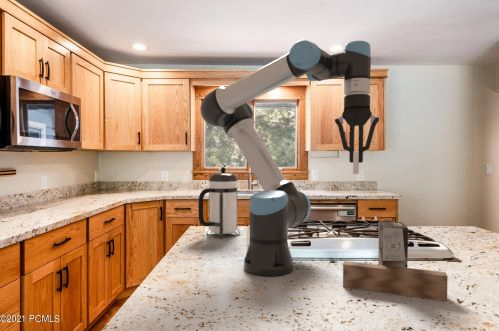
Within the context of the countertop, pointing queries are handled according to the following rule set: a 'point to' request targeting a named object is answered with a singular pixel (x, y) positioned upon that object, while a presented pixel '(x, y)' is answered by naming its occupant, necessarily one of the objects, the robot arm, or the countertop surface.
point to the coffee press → (221, 204)
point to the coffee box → (393, 244)
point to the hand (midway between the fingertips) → (356, 173)
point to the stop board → (395, 280)
